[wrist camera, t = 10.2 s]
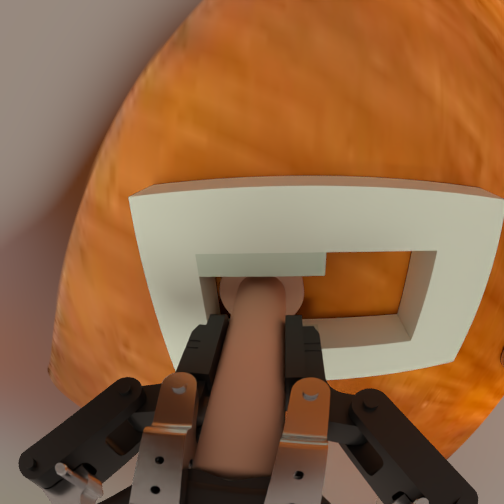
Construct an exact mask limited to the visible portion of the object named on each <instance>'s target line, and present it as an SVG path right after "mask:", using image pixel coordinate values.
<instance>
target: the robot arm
mask: <svg viewBox="0 0 504 504" xmlns="http://www.w3.org/2000/svg"><path fill="white" fill-rule="evenodd" d="M228 325H229V321H228V316H227V314H210V316H209V319H208V322H207V324H206V325H202V324H199V325H198V326H197V327H196V328H195V329H194V330H193V331H192V332H191V335H190V337H189V341H188V342H187V345H186V348H185V349H184V352H183V354H182V357H181V359H180V362H179V364H178V367H177V369H176V372H175V373H173V374H170V375H169V376H167V377H166V378H165V379H164V380H163V382H162V383H161V384H156V385H146V386H142V385H141V384H140V382H139V381H138V380H136V379H134V378H131V377H125V378H121V379H119V380H117V381H116V382H114V383H113V384H112V385H111V386H109V387H108V388H107V389H106V390H104V391H103V392H102V393H100V394H99V395H98V396H97V397H95V398H94V399H93V400H91V401H90V402H89V403H88V404H86V405H85V406H84V407H82V408H81V409H80V410H79V411H77V412H76V413H75V414H73V416H71V417H69V418H68V419H67V420H66V421H64V422H63V423H62V424H60V425H59V426H58V427H56V428H55V429H54V430H52V431H51V432H50V433H49V434H47V435H46V436H44V437H43V438H42V439H40V440H39V441H38V442H37V443H35V444H34V445H32V446H31V447H30V448H28V449H27V450H26V451H25V452H23V453H22V454H21V456H20V459H19V469H20V471H21V473H22V474H23V476H25V477H26V478H28V479H29V480H30V481H32V482H34V483H35V484H36V485H37V486H39V487H40V488H41V489H42V490H43V491H44V492H45V494H46V495H47V497H48V498H49V500H50V501H51V503H52V504H95V503H96V500H97V499H98V498H101V497H102V496H103V490H102V483H103V482H105V481H106V480H107V479H108V478H109V477H111V476H112V475H113V474H114V473H115V472H116V471H118V470H119V469H120V468H121V467H122V466H123V465H125V464H126V463H127V462H128V461H129V460H130V459H131V458H132V457H134V456H135V455H136V454H137V453H138V457H137V462H136V467H135V473H134V478H133V483H132V485H131V486H129V487H127V488H126V489H124V490H122V491H120V492H119V493H117V494H115V495H114V496H111V497H110V498H108V499H106V500H104V501H102V502H100V503H98V504H331V503H330V502H329V501H328V500H327V499H326V498H325V497H324V496H323V495H322V492H323V485H324V478H325V471H326V463H327V454H328V441H331V442H336V443H339V445H340V446H341V448H342V449H343V450H344V452H345V453H346V455H347V456H348V457H349V459H350V460H351V461H352V463H353V464H354V465H355V467H356V468H357V469H358V471H359V472H360V473H361V475H362V476H363V477H364V479H365V480H366V481H367V483H368V484H369V485H370V487H371V488H372V489H373V491H374V492H375V493H376V494H377V496H378V497H379V498H380V500H381V501H382V502H383V503H384V504H478V496H477V493H476V491H475V490H474V489H473V488H472V487H471V486H470V485H469V484H468V482H467V481H466V480H465V479H464V478H463V477H462V476H461V475H460V474H459V473H458V472H457V471H456V470H455V469H454V468H453V466H451V464H450V463H449V462H448V461H447V460H446V459H445V458H444V457H443V456H442V455H441V454H440V453H439V451H438V450H437V449H436V448H435V447H434V446H433V445H432V444H431V443H430V442H429V441H428V440H427V439H426V438H425V437H424V436H423V434H422V433H421V432H420V431H419V430H418V429H417V428H416V427H415V426H414V425H413V424H412V423H411V422H410V421H409V420H408V418H407V417H406V416H405V415H404V414H403V413H402V412H401V411H400V410H399V409H398V408H397V407H396V406H395V405H394V404H393V402H392V401H391V400H390V399H389V398H388V397H387V396H386V395H385V394H384V393H383V392H381V391H379V390H376V389H364V390H361V391H359V392H358V393H356V394H355V395H351V394H346V393H341V392H338V391H336V390H334V389H333V388H331V387H330V386H329V384H328V383H327V381H326V378H325V370H324V363H323V355H322V348H321V341H320V334H319V332H318V331H317V330H316V329H315V327H314V326H303V324H302V315H285V394H286V403H285V411H287V415H286V420H285V425H284V430H283V434H282V436H281V439H280V443H279V447H278V451H277V455H276V460H275V464H274V468H273V472H272V476H271V477H256V478H250V479H242V480H234V481H228V480H225V479H222V478H219V477H216V476H214V475H211V474H208V473H206V472H203V471H201V470H196V469H191V468H192V464H193V462H194V459H195V454H196V449H197V445H198V441H199V437H200V433H201V429H202V425H203V421H204V417H205V413H206V409H207V406H208V402H209V398H210V394H211V390H212V386H213V382H214V378H215V375H216V371H217V367H218V363H219V359H220V355H221V351H222V348H223V344H224V340H225V336H226V332H227V328H228ZM501 364H502V365H503V367H504V350H503V353H502V356H501Z"/></svg>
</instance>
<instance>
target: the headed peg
mask: <svg viewBox="0 0 504 504" xmlns="http://www.w3.org/2000/svg"><path fill="white" fill-rule="evenodd" d="M219 290H220V297H221V300H222V303H223V305H224V306H225V308H226V309H227V311H228V312H229V313H230V314H231V317H230V321H229V325H228V328H227V332H226V336H225V340H224V344H223V348H222V351H221V355H220V359H219V363H218V367H217V371H216V375H215V378H214V382H213V386H212V390H211V394H210V398H209V402H208V406H207V409H206V413H205V417H204V421H203V425H202V429H201V433H200V437H199V441H198V445H197V449H196V454H195V459H194V462H193V464H192V468H191V469H196V470H201V471H203V472H206V473H208V474H211V475H214V476H216V477H219V478H222V479H225V480H228V481H234V480H242V479H250V478H256V477H271V476H272V472H273V468H274V464H275V460H276V455H277V451H278V447H279V443H280V439H281V436H282V434H283V430H284V425H285V403H286V394H285V315H295V313H296V312H297V311H298V310H299V308H300V307H301V304H302V302H303V298H304V285H303V278H302V276H278V277H222V279H221V282H220V288H219Z"/></svg>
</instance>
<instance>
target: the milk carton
mask: <svg viewBox="0 0 504 504" xmlns="http://www.w3.org/2000/svg"><path fill="white" fill-rule="evenodd" d="M322 495H323V496H324V497H325V498H326V499H327V500H328V501H329V502H330V503H331V504H377V502H376V493H375V492H374V491H373V489H372V488H371V487H370V485H369V484H368V483H367V481H366V480H365V479H364V477H363V476H362V475H361V473H360V472H359V471H358V469H357V468H356V467H355V465H354V464H353V463H352V461H351V460H350V459H349V457H348V456H347V455H346V453H345V452H344V450H343V449H342V448H341V446H340V445H339V443H336V442H331V441H328V454H327V463H326V471H325V478H324V485H323V492H322Z"/></svg>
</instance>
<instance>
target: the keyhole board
mask: <svg viewBox="0 0 504 504" xmlns="http://www.w3.org/2000/svg"><path fill="white" fill-rule="evenodd" d="M129 203H130V209H131V214H132V220H133V225H134V230H135V234H136V239H137V244H138V248H139V252H140V257H141V261H142V265H143V269H144V273H145V277H146V281H147V284H148V288H149V292H150V295H151V299H152V302H153V306H154V309H155V312H156V316H157V319H158V322H159V325H160V328H161V331H162V334H163V337H164V340H165V343H166V346H167V349H168V352H169V355H170V358H171V360H172V363H173V366H174V368H175V371H176V369H177V367H178V364H179V362H180V359H181V357H182V354H183V352H184V349H185V348H186V345H187V342H188V341H189V337H190V335H191V332H192V331H193V330H194V329H195V328H196V327H197V326H198V325H199V324H202V325H206V324H207V322H208V319H209V316H210V314H220V307H219V301H218V294H217V287H216V280H215V277H278V276H325V266H326V252H378V251H412V253H411V258H410V263H409V268H408V273H407V277H406V282H405V286H404V290H403V294H402V298H401V302H400V306H399V310H398V313H397V314H391V315H378V316H364V317H347V318H324V319H302V324H303V326H314V327H315V329H316V330H317V331H318V332H319V334H320V341H321V348H322V355H323V363H324V370H325V378H326V380H337V379H349V378H359V377H369V376H377V375H384V374H391V373H398V372H404V371H410V370H415V369H421V368H426V367H431V366H435V365H440V364H444V363H449V362H453V361H454V359H455V357H456V355H457V353H458V351H459V349H460V347H461V345H462V343H463V341H464V339H465V337H466V335H467V333H468V330H469V328H470V326H471V324H472V321H473V319H474V317H475V314H476V312H477V309H478V307H479V304H480V302H481V299H482V296H483V293H484V291H485V288H486V285H487V282H488V279H489V275H490V272H491V269H492V266H493V262H494V258H495V255H496V251H497V247H498V243H499V239H500V234H501V229H502V224H503V219H504V199H503V198H501V197H499V196H497V195H495V194H493V193H490V192H488V191H486V190H483V189H481V188H477V187H470V186H463V185H456V184H448V183H439V182H430V181H419V180H408V179H394V178H378V177H357V176H262V177H239V178H222V179H208V180H196V181H185V182H174V183H165V184H156V185H152V186H150V187H147V188H145V189H143V190H141V191H139V192H137V193H135V194H133V195H131V196H129ZM228 321H230V319H228Z"/></svg>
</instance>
